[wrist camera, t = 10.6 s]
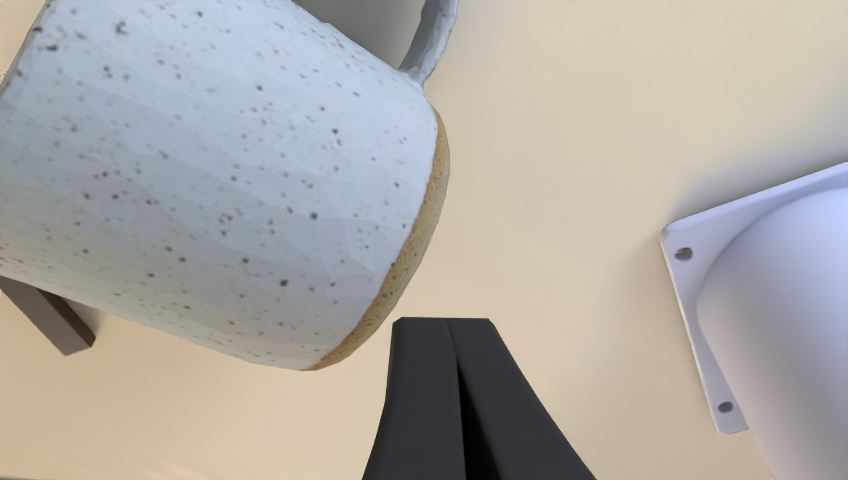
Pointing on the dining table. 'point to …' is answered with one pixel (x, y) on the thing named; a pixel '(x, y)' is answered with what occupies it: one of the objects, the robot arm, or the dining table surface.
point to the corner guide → (49, 316)
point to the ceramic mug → (221, 171)
